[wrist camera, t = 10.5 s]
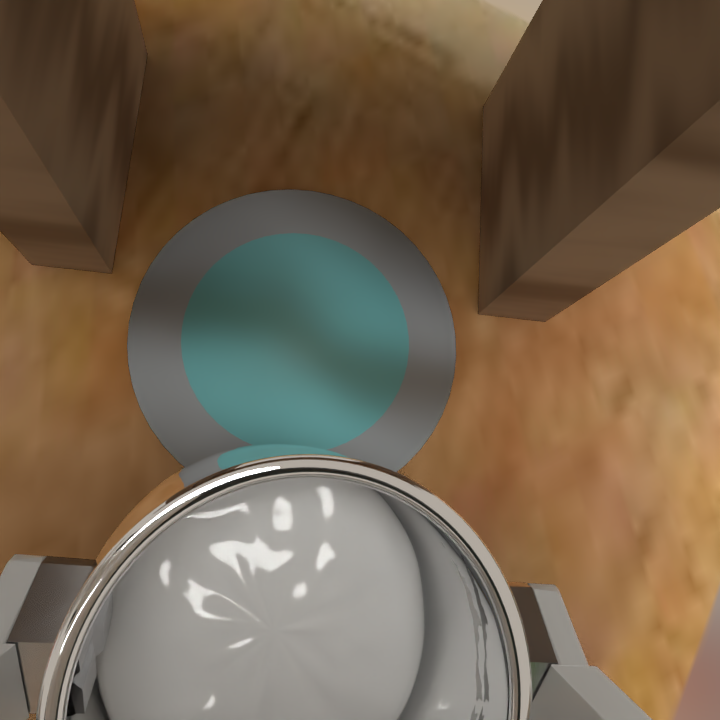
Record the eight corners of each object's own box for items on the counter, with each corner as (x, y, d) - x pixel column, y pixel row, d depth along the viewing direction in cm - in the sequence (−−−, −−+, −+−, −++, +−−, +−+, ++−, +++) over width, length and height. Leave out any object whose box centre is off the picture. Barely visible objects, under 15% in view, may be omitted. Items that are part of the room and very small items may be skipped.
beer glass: (112, 642, 22) (-62, 1018, 7) (159, 433, 23) (91, 394, 8) (317, 664, 23) (517, 1015, 9) (350, 467, 24) (572, 482, 10)
